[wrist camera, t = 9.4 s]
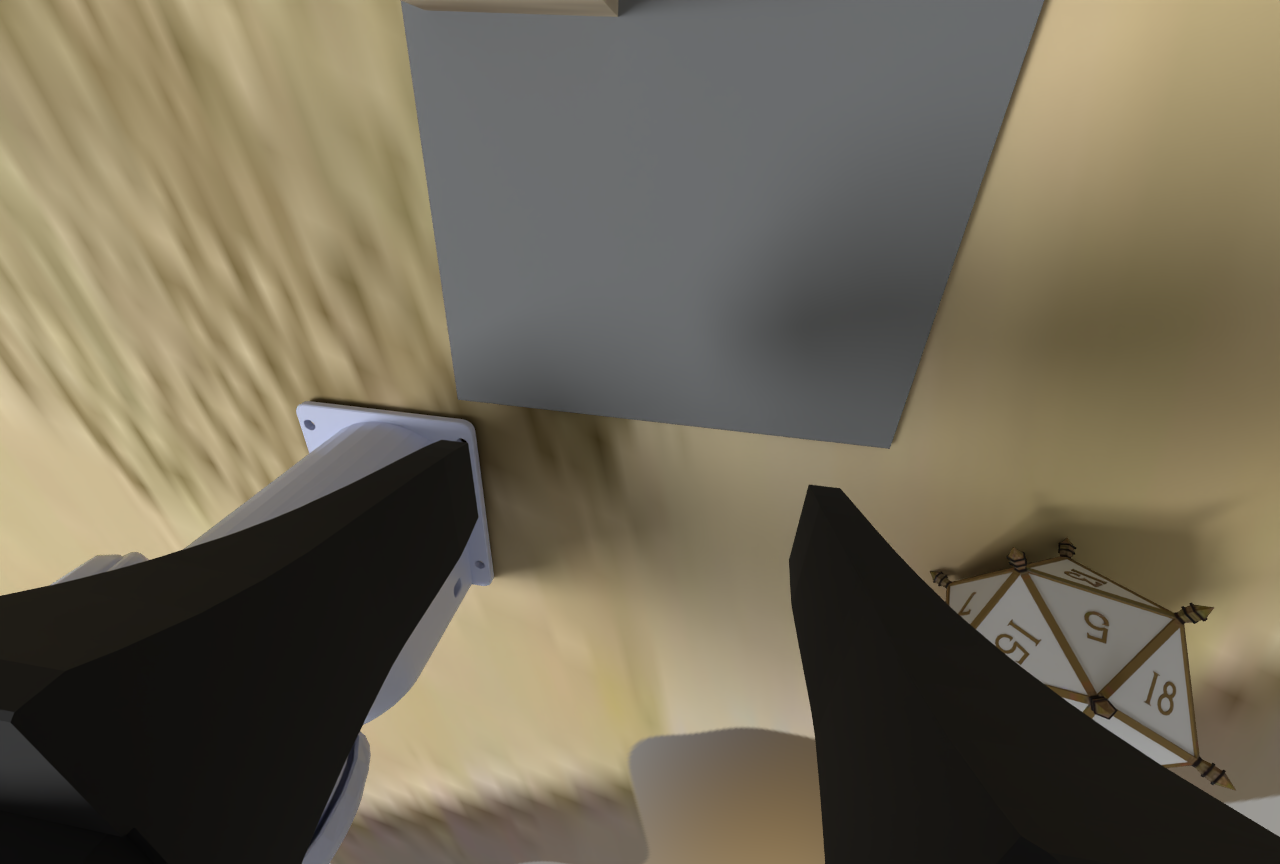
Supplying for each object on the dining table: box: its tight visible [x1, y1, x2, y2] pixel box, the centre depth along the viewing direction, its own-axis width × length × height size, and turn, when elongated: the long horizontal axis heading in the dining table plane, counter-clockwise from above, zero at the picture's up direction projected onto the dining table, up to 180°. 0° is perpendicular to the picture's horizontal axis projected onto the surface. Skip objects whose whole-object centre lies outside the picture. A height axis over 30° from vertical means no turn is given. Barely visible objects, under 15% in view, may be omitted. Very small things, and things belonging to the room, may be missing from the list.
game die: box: [930, 538, 1236, 790], centre depth 19 cm, size 9×8×10 cm
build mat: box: [401, 0, 1044, 449], centre depth 15 cm, size 22×17×1 cm
